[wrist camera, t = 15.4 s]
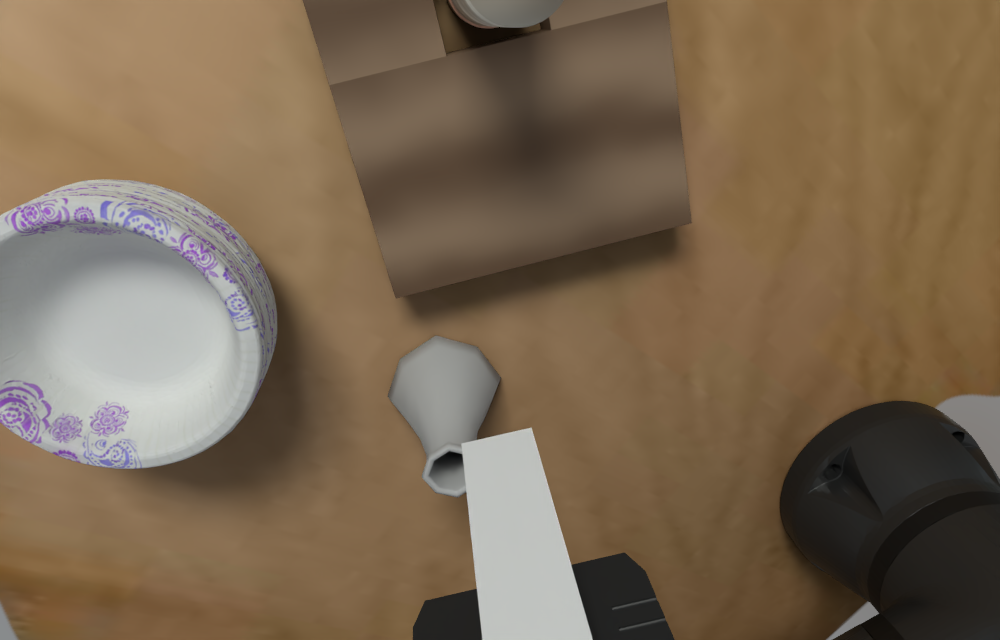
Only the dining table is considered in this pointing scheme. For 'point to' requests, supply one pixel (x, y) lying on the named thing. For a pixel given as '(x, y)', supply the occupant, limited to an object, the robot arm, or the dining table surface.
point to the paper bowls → (128, 324)
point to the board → (505, 133)
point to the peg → (504, 12)
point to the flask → (444, 404)
